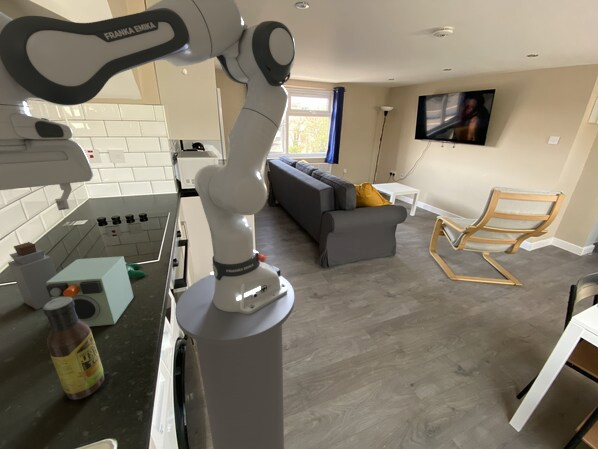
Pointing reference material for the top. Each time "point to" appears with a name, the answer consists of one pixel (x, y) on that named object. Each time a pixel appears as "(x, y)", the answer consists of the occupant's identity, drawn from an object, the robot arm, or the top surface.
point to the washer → (95, 288)
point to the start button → (71, 291)
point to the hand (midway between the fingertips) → (27, 214)
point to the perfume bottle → (32, 273)
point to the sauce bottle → (72, 349)
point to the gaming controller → (132, 271)
